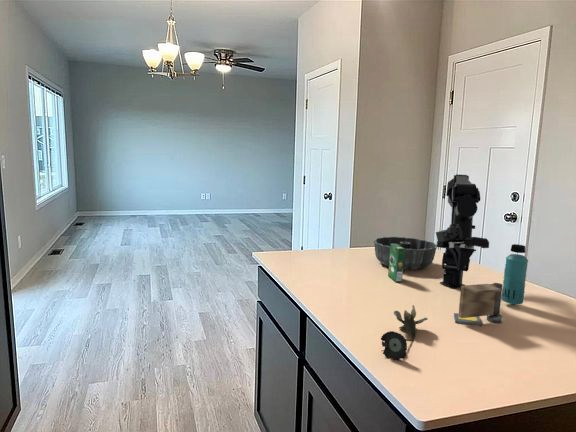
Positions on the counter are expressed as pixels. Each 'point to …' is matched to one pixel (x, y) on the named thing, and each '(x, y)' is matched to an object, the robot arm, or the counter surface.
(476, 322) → the label plaque
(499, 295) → the brown wooden block
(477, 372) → the counter surface
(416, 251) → the bundt pan
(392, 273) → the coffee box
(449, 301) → the counter surface
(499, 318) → the pivot foot
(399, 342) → the artificial flower
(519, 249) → the beverage bottle
